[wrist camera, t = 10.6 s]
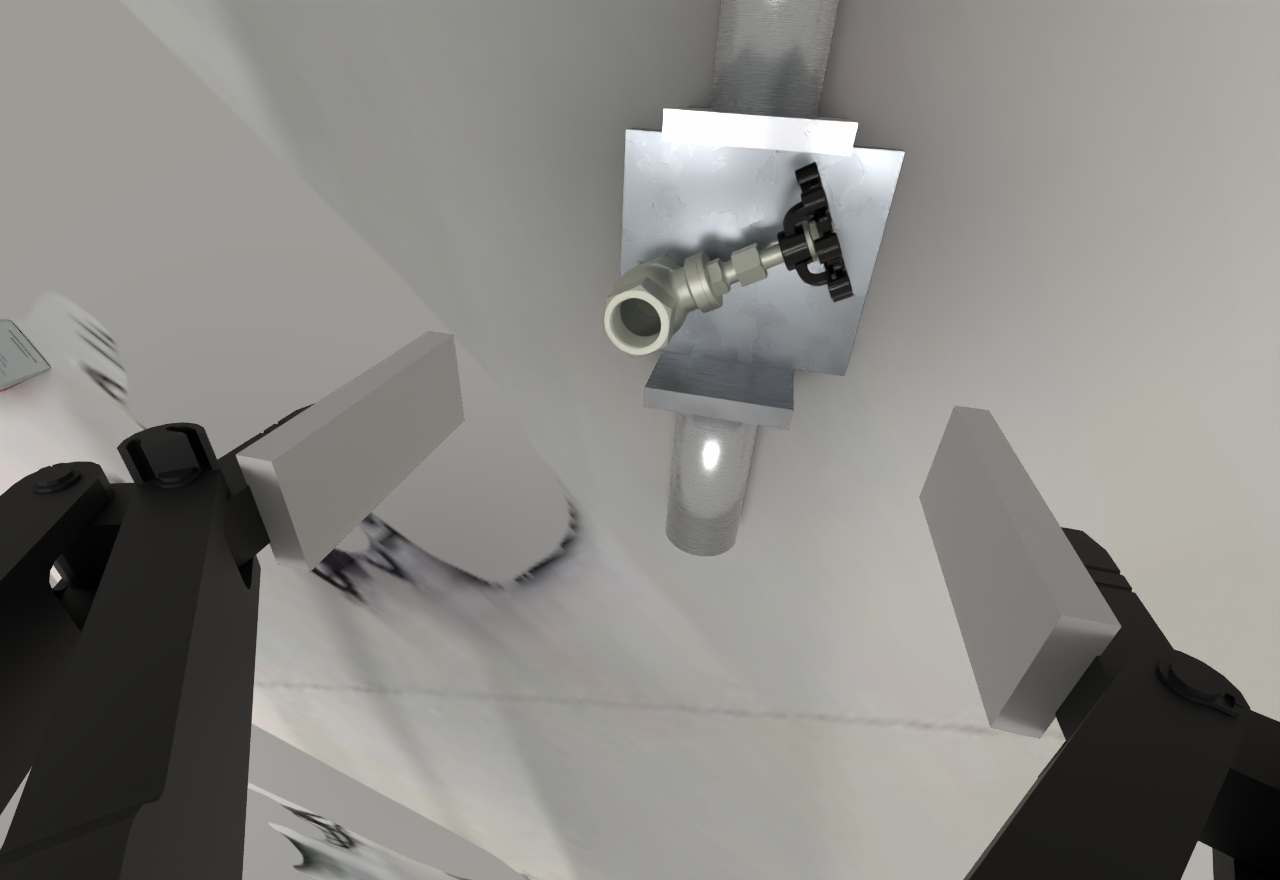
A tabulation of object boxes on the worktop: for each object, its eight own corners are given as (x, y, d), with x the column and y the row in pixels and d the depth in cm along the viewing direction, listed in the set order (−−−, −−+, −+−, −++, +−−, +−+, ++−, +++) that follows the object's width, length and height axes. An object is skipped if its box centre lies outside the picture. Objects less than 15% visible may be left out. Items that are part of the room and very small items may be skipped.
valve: (652, 347, 36) (848, 278, 31) (627, 393, 30) (860, 316, 26) (607, 247, 33) (813, 155, 29) (570, 276, 28) (818, 168, 23)
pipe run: (644, -208, 24) (602, -297, 19) (998, -215, 22) (1065, -317, 17) (614, 493, 44) (589, 549, 38) (801, 528, 41) (802, 592, 36)
